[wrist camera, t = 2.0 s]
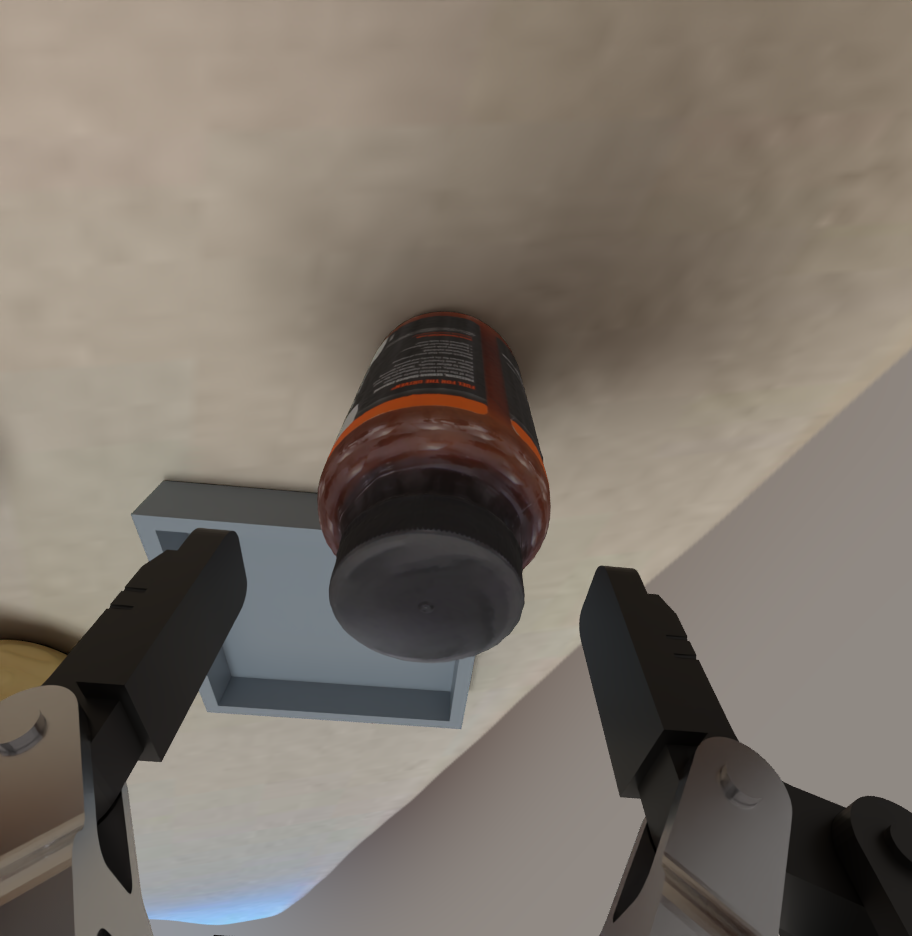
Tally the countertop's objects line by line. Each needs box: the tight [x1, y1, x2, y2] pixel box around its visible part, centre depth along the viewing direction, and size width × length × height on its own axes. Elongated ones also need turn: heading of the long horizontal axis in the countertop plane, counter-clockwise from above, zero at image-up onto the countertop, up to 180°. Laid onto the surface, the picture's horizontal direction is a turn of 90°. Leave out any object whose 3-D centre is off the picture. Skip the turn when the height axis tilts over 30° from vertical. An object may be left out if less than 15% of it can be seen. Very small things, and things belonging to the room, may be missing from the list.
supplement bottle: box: [317, 312, 551, 663], centre depth 14 cm, size 6×6×11 cm
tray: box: [131, 481, 475, 729], centre depth 25 cm, size 16×16×2 cm
